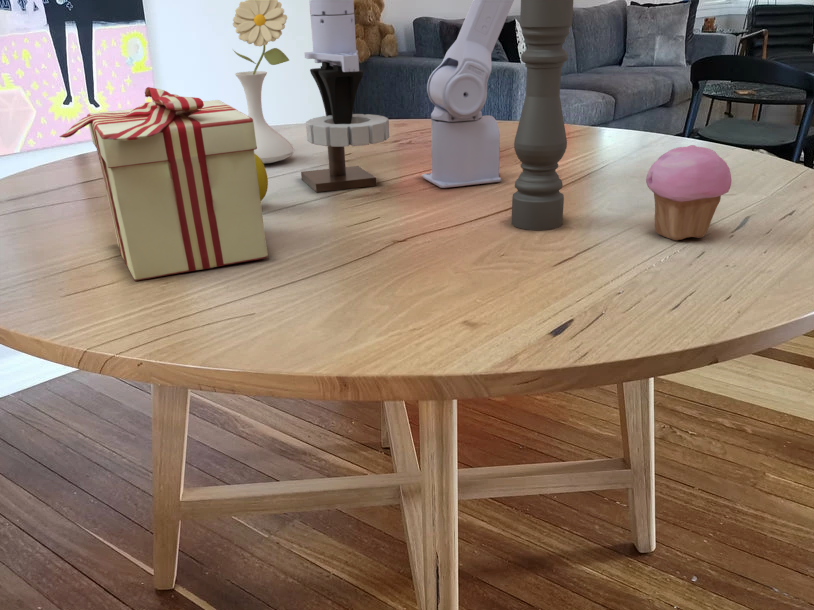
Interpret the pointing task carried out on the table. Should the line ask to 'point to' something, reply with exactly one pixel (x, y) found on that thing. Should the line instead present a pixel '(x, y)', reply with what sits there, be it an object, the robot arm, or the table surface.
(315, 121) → the grey notched ring
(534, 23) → the candle holder
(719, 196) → the cupcake
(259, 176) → the lemon
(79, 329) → the table surface
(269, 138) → the flower in vase
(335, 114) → the robot arm
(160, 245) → the gift box
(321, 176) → the brown peg stand
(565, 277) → the table surface
